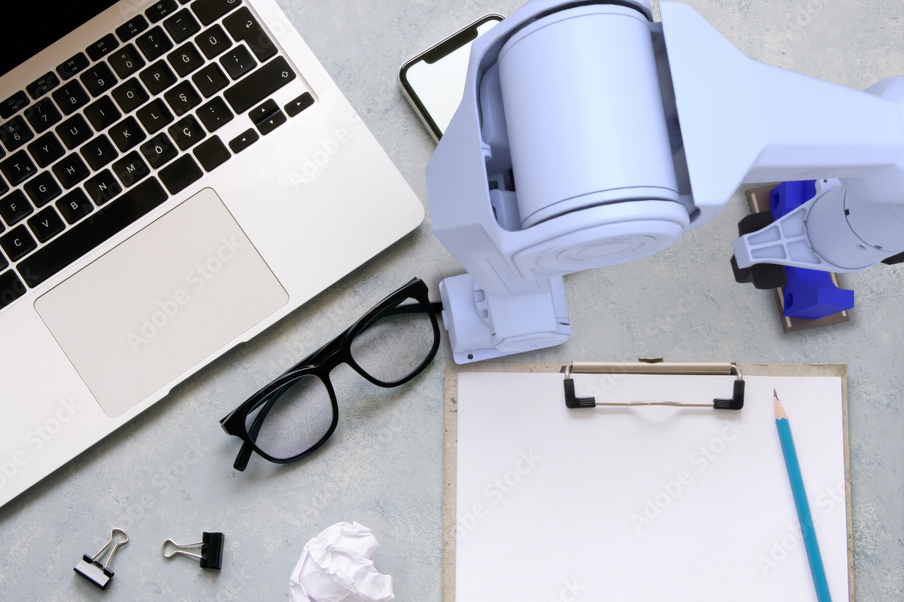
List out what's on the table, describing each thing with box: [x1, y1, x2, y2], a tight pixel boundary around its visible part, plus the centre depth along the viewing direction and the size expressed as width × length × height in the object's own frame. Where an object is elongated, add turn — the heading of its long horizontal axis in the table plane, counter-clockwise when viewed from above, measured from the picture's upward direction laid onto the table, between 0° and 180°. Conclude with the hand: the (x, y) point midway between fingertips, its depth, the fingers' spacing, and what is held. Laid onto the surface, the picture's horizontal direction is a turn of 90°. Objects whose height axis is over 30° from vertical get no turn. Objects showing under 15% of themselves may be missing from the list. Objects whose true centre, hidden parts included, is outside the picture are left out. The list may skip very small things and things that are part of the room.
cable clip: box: [770, 179, 855, 319], centre depth 67 cm, size 12×4×6 cm, turn 174°
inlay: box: [745, 180, 851, 334], centre depth 70 cm, size 6×14×1 cm, turn 11°
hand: (782, 260), depth 61 cm, fingers open, 7 cm apart
